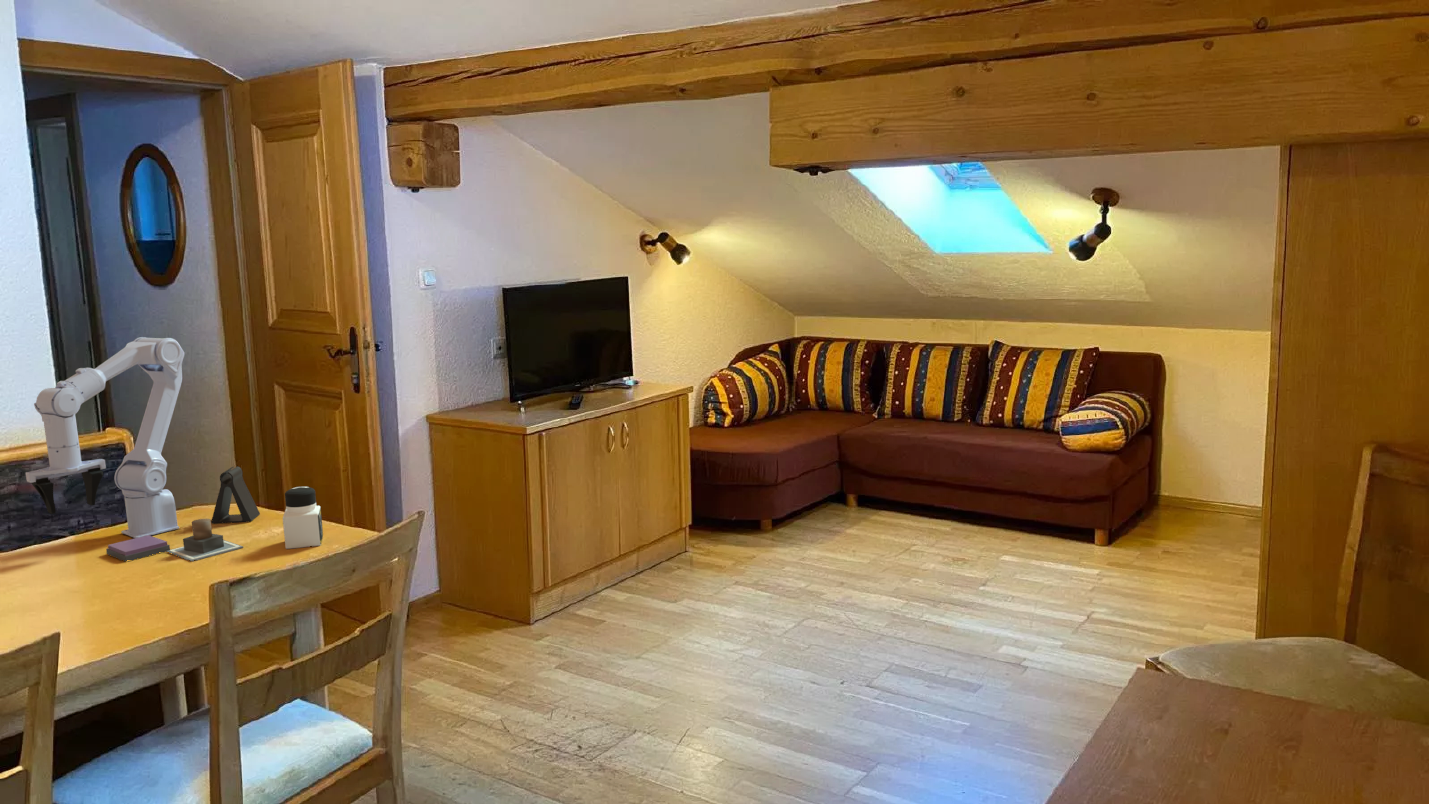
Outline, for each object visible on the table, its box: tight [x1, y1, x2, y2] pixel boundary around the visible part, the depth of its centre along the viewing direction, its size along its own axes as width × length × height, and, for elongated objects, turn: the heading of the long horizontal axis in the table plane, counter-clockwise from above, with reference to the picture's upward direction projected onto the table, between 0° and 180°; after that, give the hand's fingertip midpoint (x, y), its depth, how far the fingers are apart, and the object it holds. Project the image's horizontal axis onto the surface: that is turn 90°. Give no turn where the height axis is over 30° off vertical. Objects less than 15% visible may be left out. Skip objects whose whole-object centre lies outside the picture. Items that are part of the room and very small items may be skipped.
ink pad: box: [105, 535, 171, 562], centre depth 226 cm, size 9×9×2 cm
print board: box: [165, 539, 244, 562], centre depth 227 cm, size 11×11×1 cm
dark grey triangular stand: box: [210, 465, 261, 525], centre depth 249 cm, size 9×6×12 cm, turn 94°
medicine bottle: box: [282, 486, 324, 550], centre depth 229 cm, size 7×7×12 cm
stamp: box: [182, 518, 224, 553], centre depth 227 cm, size 5×6×6 cm
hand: (71, 508), depth 225 cm, fingers open, 7 cm apart
